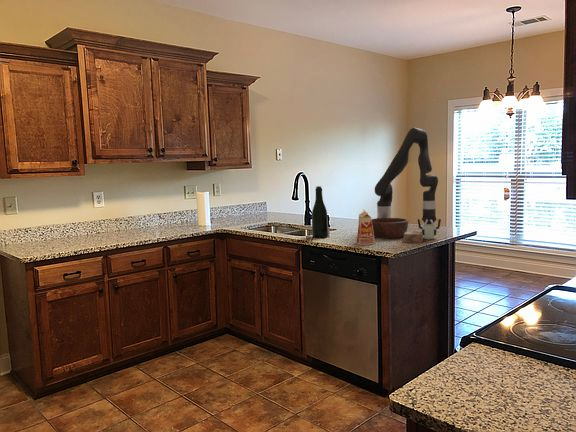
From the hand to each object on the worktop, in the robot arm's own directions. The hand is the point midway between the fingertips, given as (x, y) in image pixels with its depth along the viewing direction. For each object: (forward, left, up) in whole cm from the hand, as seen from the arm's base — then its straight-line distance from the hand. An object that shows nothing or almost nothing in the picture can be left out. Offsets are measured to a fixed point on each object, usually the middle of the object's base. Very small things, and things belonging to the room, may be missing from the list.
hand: (429, 235), depth 293 cm
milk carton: (-36, -21, -2) cm, 42 cm away
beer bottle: (-68, +1, -2) cm, 68 cm away
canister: (0, 0, -2) cm, 2 cm away
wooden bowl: (-25, +7, -2) cm, 26 cm away
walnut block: (-9, -10, -2) cm, 14 cm away
